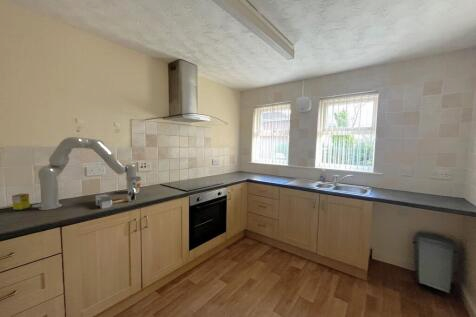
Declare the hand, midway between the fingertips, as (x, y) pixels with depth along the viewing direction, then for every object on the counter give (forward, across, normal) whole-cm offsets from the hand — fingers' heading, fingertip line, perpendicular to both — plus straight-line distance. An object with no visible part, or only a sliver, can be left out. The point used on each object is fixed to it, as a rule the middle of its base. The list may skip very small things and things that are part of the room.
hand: (131, 199), depth 171 cm
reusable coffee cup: (+1, +26, -14) cm, 29 cm away
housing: (+1, 0, +21) cm, 21 cm away
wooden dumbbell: (+1, 0, +8) cm, 8 cm away
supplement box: (+1, +34, +62) cm, 71 cm away
